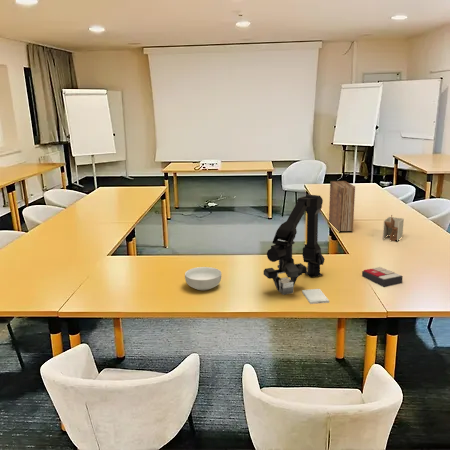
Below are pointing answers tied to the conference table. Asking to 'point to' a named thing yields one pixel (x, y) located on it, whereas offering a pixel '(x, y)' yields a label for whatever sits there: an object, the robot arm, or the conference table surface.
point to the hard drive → (315, 296)
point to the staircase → (393, 228)
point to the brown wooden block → (341, 205)
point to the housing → (285, 286)
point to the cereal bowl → (203, 278)
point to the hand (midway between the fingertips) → (285, 288)
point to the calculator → (382, 276)
